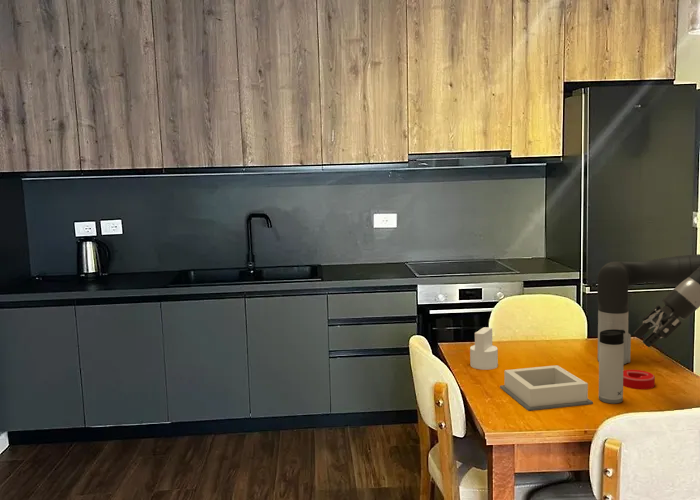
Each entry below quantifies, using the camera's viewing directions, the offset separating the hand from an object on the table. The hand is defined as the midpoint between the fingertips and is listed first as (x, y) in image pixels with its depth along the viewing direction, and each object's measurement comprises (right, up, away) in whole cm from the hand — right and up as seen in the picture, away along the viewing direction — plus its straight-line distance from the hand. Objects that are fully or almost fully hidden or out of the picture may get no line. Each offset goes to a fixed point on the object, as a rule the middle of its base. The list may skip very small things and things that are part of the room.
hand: (640, 340), depth 171 cm
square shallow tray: (-23, -17, +10) cm, 31 cm away
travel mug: (-6, -18, +5) cm, 19 cm away
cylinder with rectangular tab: (-34, -14, +39) cm, 54 cm away
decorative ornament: (+7, -16, +17) cm, 24 cm away
